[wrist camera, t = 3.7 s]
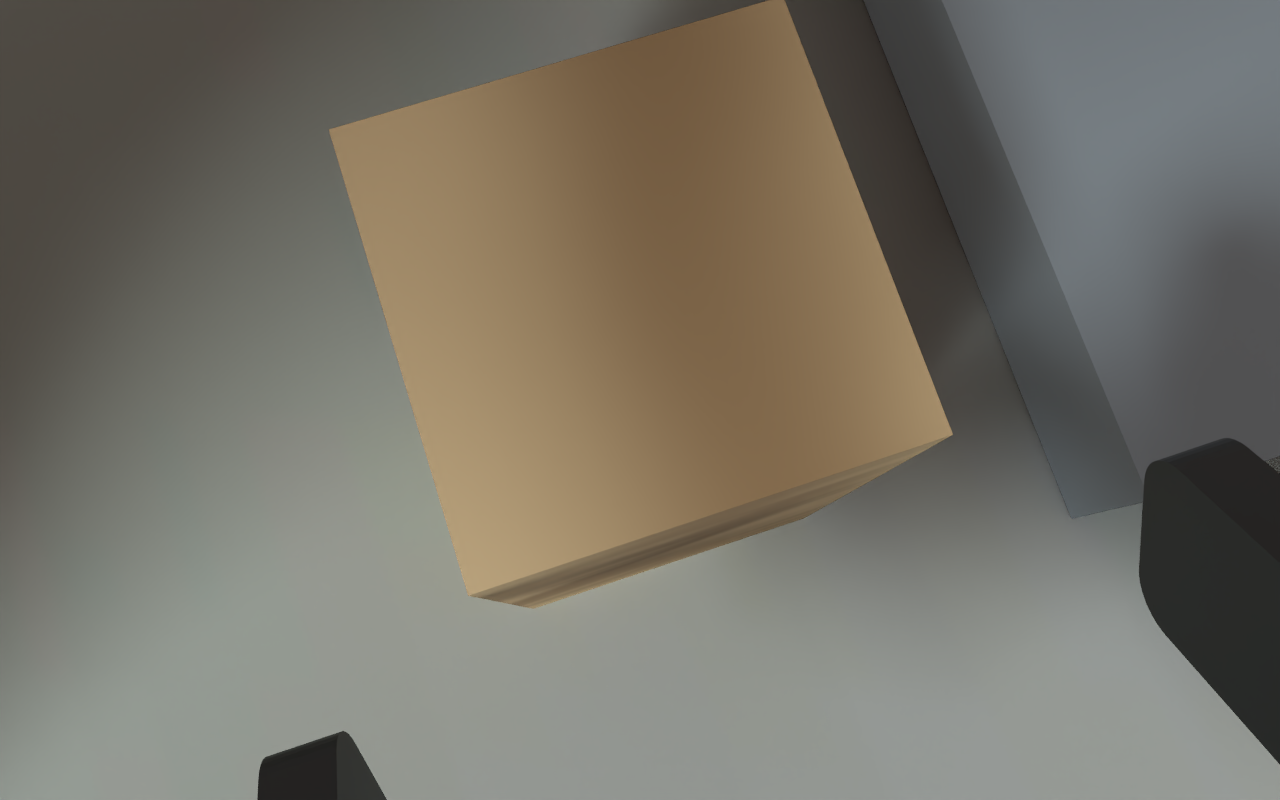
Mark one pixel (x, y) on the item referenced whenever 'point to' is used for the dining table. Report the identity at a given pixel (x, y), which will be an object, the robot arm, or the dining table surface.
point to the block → (635, 305)
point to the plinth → (1112, 214)
